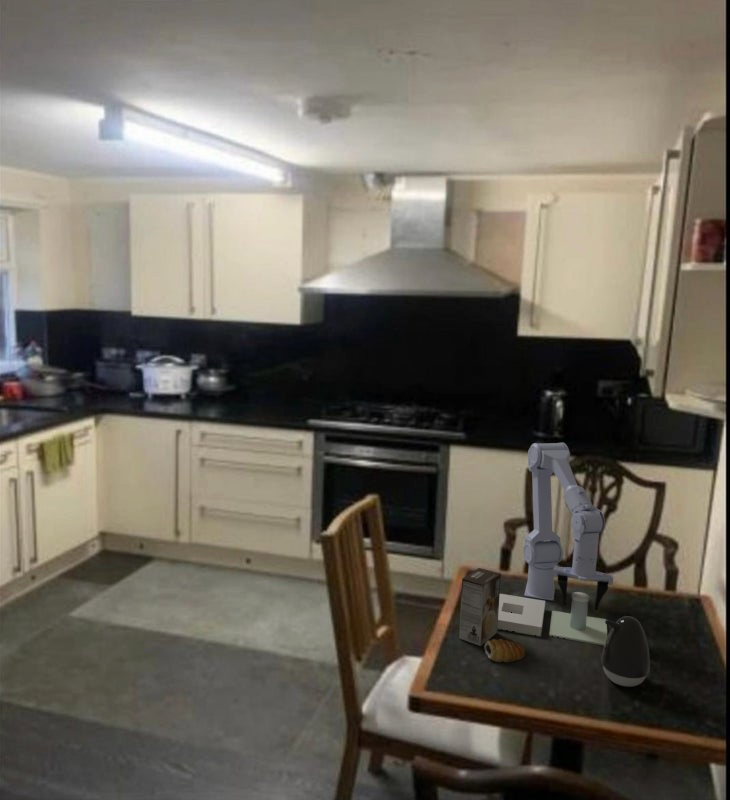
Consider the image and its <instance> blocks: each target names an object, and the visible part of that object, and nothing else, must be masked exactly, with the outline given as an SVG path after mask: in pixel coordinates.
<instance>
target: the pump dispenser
mask: <svg viewBox="0 0 730 800" xmlns="http://www.w3.org/2000/svg"><path fill="white" fill-rule="evenodd" d="M605 624H607V626H608V627H611V629H610V631H609V633H608V634H607V639H606V642H605V645H604V646H603V649H602V652H601V653H602V654H601V657H600V659H601V661H600V662H601V665H602V669H603V671H604V673H605V676H606V677H607V678H608V679H609V680H610V681H611V682H613V683H614V684H617V685H618V686H621V687H626V688H631V687H636V686H638V685H641V684H642V683H643V682H644V681H645V679H646V677H647V676H648V675H649V673H650V666H651V665H650V664H651V662H650V660H651V659H650V650H649V643H648V640H647V639H648V638H647V636H646V633H645V630H644V628H643V626H642V625H641V622H640V621H639V620H638V619H637V618H636V617H633V616H628V615H625V616H622V617H620V618H619V619H617V621H612V620H611V619H606V621H605Z"/></svg>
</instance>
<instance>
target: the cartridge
mask: <svg viewBox="0 0 730 800" xmlns="http://www.w3.org/2000/svg"><path fill="white" fill-rule="evenodd" d="M589 601H590V596H589V594H587V593H585V592H580V591H576V592H575V591H574V592H572V593H571V609H570V614H571V618H570V627H571V628H573V629H575V630H585V629H586V621H587V616H588V608H589Z"/></svg>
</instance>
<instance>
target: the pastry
mask: <svg viewBox="0 0 730 800" xmlns="http://www.w3.org/2000/svg"><path fill="white" fill-rule="evenodd" d="M483 647H484V648H483V649H484V651H485V655H486V656H487V657H488V658H489V659H490V660H491V661H493V662H495V663H501V662H504V663H510V662H515V661H519V660H522V659H523V658H525V655H526V650H525V647H524V646H523V645H521V644H520V643H517V642H513V641H509V640H504V639H502V638H499V639H495V638H492V639H489V640H488V641H486V642H485V643H484V646H483Z"/></svg>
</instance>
